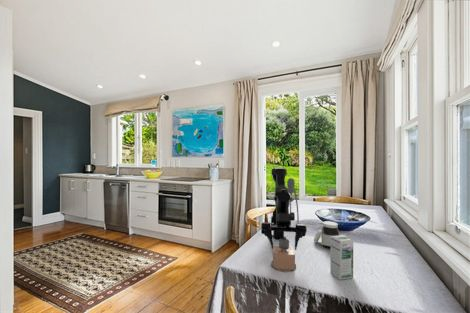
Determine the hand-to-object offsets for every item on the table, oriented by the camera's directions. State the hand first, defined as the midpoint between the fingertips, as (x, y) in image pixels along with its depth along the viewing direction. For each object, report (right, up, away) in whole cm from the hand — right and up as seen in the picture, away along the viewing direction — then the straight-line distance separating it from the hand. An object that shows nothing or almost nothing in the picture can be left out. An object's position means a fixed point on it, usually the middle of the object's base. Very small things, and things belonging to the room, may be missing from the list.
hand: (284, 248), depth 93 cm
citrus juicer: (+19, -7, +63) cm, 67 cm away
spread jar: (+26, -8, +24) cm, 36 cm away
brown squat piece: (0, -7, +1) cm, 8 cm away
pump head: (0, -5, 0) cm, 5 cm away
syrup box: (+21, -8, -6) cm, 23 cm away
